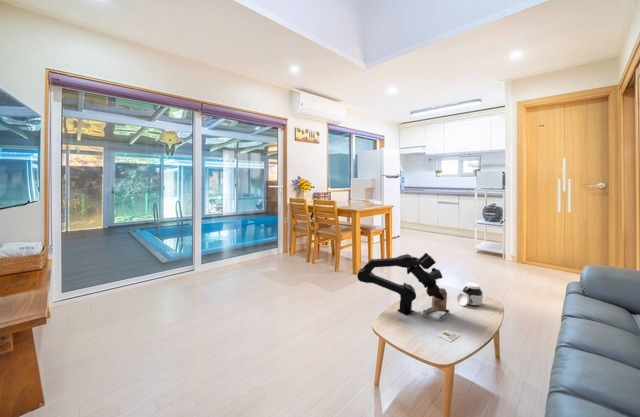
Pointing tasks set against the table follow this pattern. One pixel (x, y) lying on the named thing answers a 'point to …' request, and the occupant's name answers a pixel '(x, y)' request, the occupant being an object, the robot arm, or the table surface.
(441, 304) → the walnut block
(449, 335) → the card
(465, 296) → the spread jar
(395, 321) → the table surface
